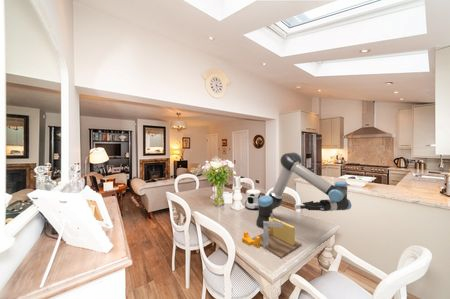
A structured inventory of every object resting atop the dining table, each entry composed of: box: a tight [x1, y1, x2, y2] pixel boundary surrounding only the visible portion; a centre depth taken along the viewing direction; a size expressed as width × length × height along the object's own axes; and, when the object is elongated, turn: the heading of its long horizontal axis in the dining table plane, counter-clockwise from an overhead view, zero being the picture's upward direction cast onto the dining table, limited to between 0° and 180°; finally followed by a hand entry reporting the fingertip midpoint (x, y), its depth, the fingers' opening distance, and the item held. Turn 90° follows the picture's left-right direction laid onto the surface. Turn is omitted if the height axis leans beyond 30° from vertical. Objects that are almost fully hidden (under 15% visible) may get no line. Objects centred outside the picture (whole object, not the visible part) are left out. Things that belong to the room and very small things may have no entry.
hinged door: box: [268, 212, 296, 246], centre depth 124 cm, size 20×4×15 cm, turn 36°
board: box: [251, 230, 303, 259], centre depth 122 cm, size 22×25×1 cm
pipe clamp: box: [241, 230, 261, 248], centre depth 121 cm, size 12×4×6 cm, turn 47°
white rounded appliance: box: [244, 188, 262, 210], centre depth 188 cm, size 17×17×18 cm
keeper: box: [262, 221, 283, 249], centre depth 116 cm, size 12×3×17 cm, turn 80°
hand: (295, 206), depth 119 cm, fingers closed
